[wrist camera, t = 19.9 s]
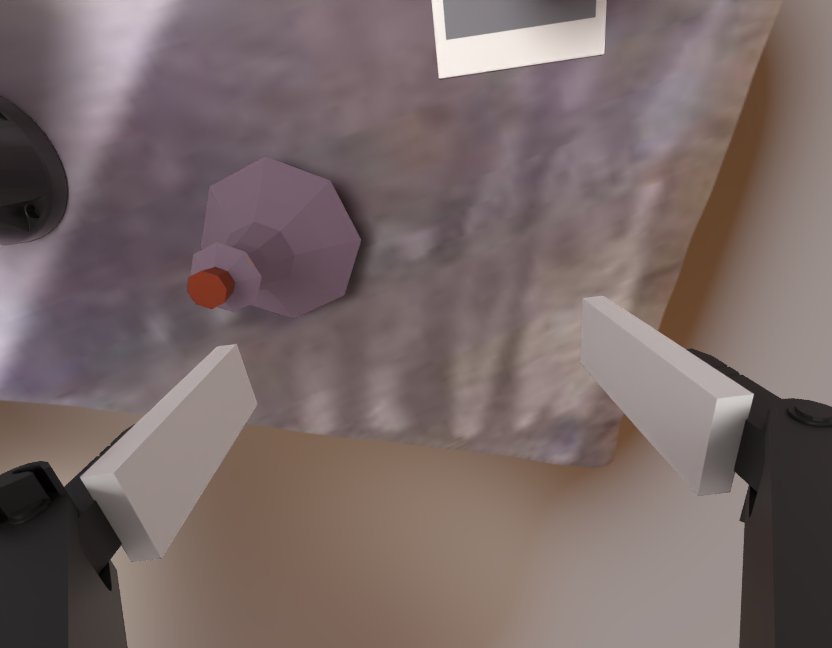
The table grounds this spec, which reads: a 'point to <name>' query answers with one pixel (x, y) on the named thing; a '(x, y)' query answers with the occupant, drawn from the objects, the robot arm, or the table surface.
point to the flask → (273, 242)
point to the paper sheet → (514, 33)
